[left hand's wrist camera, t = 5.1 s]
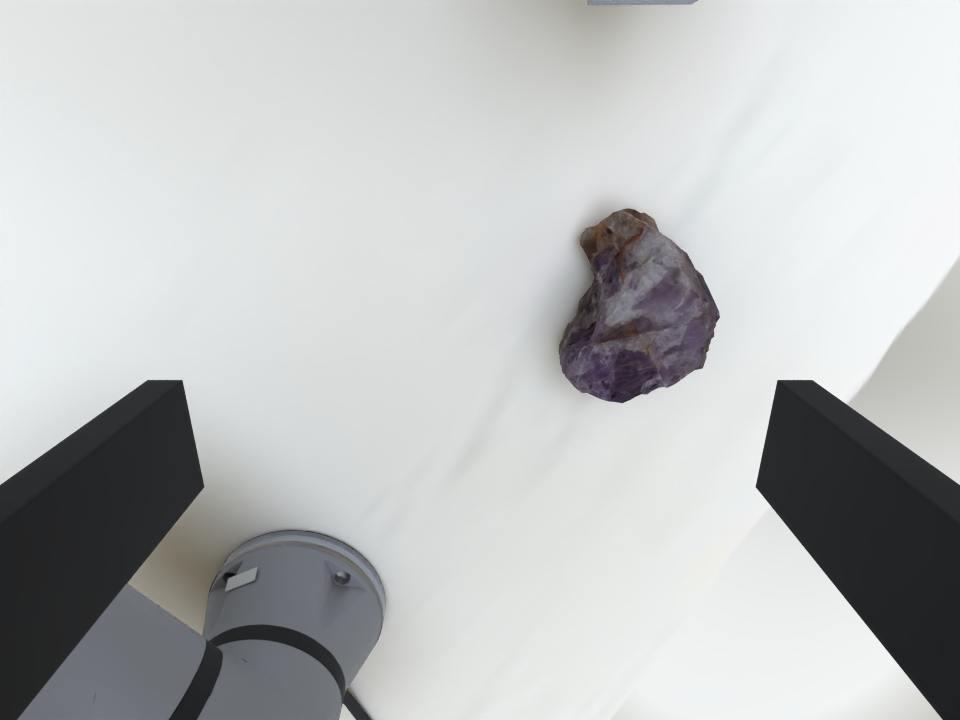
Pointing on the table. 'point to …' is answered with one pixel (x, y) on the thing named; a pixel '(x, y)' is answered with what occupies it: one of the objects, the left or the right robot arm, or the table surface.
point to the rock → (636, 312)
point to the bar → (639, 2)
